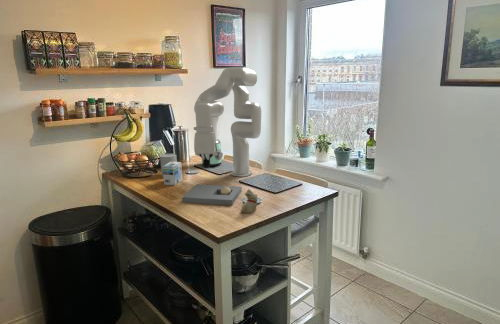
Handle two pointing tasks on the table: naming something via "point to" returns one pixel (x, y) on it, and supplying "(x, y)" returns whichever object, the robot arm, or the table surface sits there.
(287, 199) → the table surface
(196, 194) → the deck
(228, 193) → the ball
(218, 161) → the mint green blender
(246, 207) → the chocolate bunny
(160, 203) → the table surface
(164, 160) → the grey piece
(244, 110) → the robot arm
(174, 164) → the light bulb box
